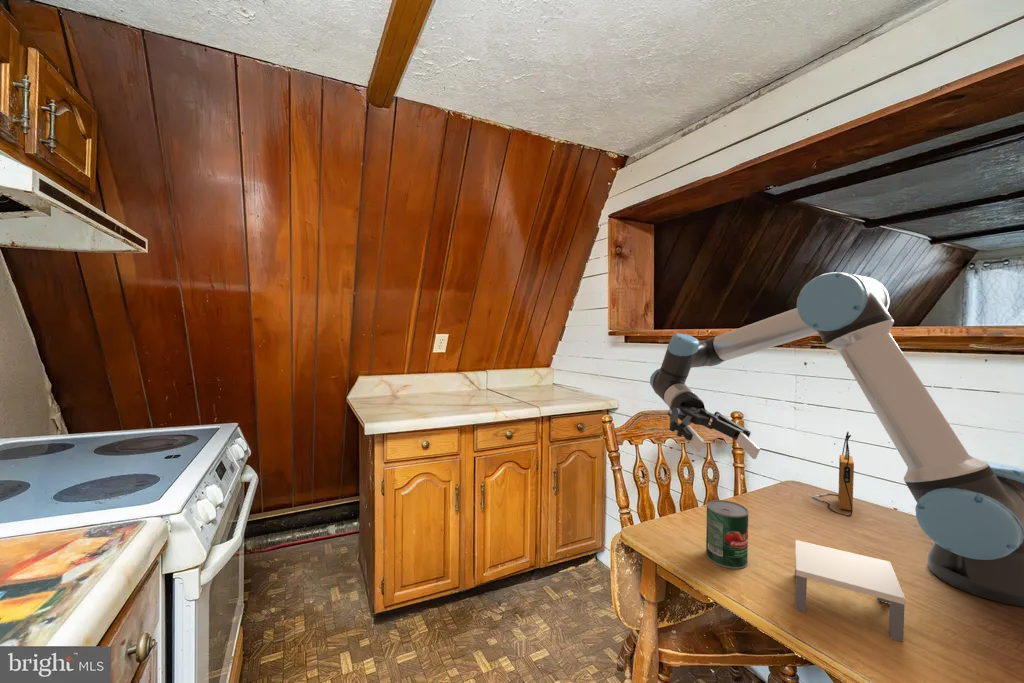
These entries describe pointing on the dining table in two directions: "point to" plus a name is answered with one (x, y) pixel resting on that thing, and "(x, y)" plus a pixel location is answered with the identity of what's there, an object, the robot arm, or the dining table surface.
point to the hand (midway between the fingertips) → (729, 450)
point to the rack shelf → (850, 578)
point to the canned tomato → (727, 534)
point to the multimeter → (844, 480)
